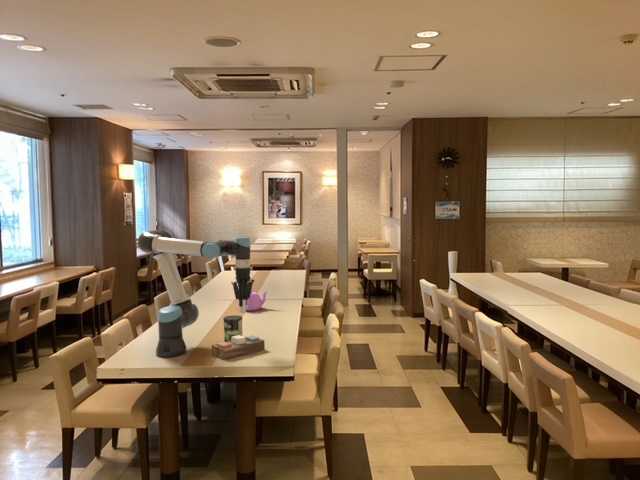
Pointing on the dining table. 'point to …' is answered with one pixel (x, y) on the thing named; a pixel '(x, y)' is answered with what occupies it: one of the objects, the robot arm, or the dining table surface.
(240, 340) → the ivory key
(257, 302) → the teapot
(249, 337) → the slate key
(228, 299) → the dining table surface
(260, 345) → the key console
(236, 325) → the coffee can
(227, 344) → the terracotta key
